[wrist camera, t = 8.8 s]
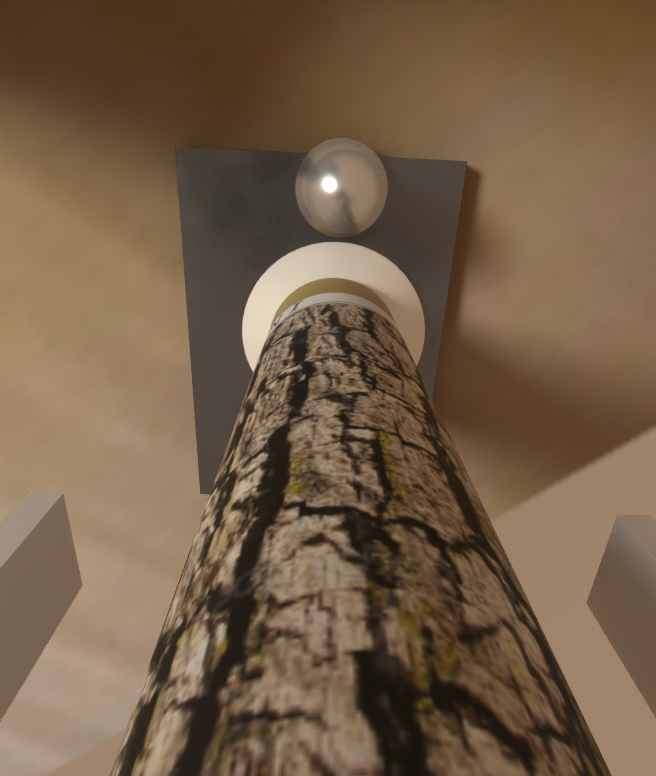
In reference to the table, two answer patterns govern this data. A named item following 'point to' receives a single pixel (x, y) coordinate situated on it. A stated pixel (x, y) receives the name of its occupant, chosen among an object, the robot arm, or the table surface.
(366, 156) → the collar post
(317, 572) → the paper tube
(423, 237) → the plate
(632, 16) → the table surface
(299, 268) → the white dome cap
